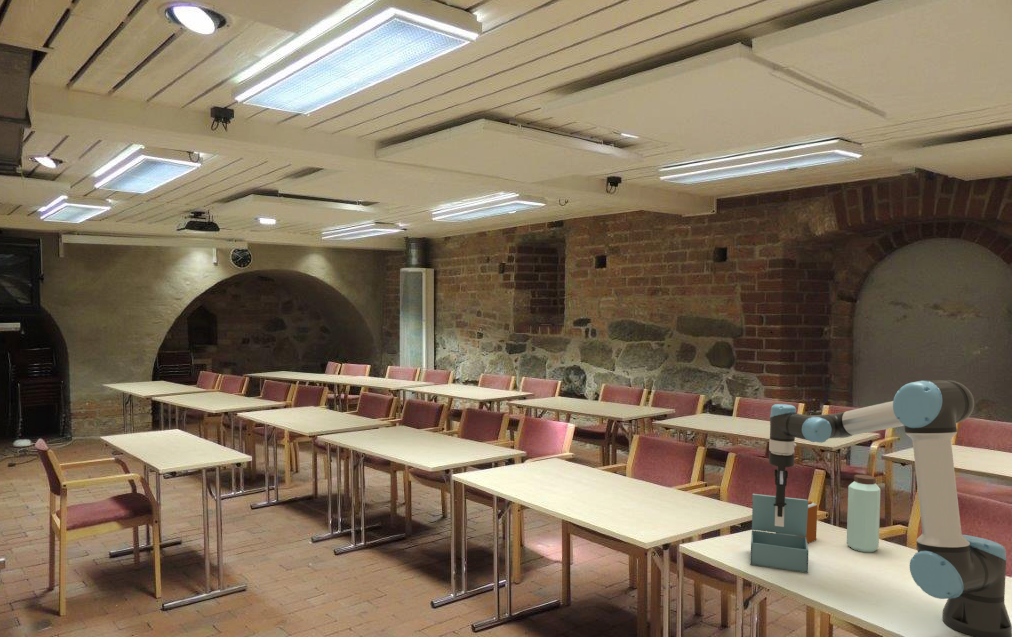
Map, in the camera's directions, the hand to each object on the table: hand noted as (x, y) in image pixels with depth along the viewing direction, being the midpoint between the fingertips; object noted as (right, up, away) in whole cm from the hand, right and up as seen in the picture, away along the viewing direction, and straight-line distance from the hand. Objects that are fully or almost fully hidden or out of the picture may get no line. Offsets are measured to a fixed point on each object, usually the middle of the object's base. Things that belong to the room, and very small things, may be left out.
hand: (779, 525), depth 225 cm
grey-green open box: (+1, -13, +3) cm, 13 cm away
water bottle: (+36, -13, +18) cm, 42 cm away
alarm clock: (+16, -13, +25) cm, 32 cm away
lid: (+3, +1, +7) cm, 8 cm away
